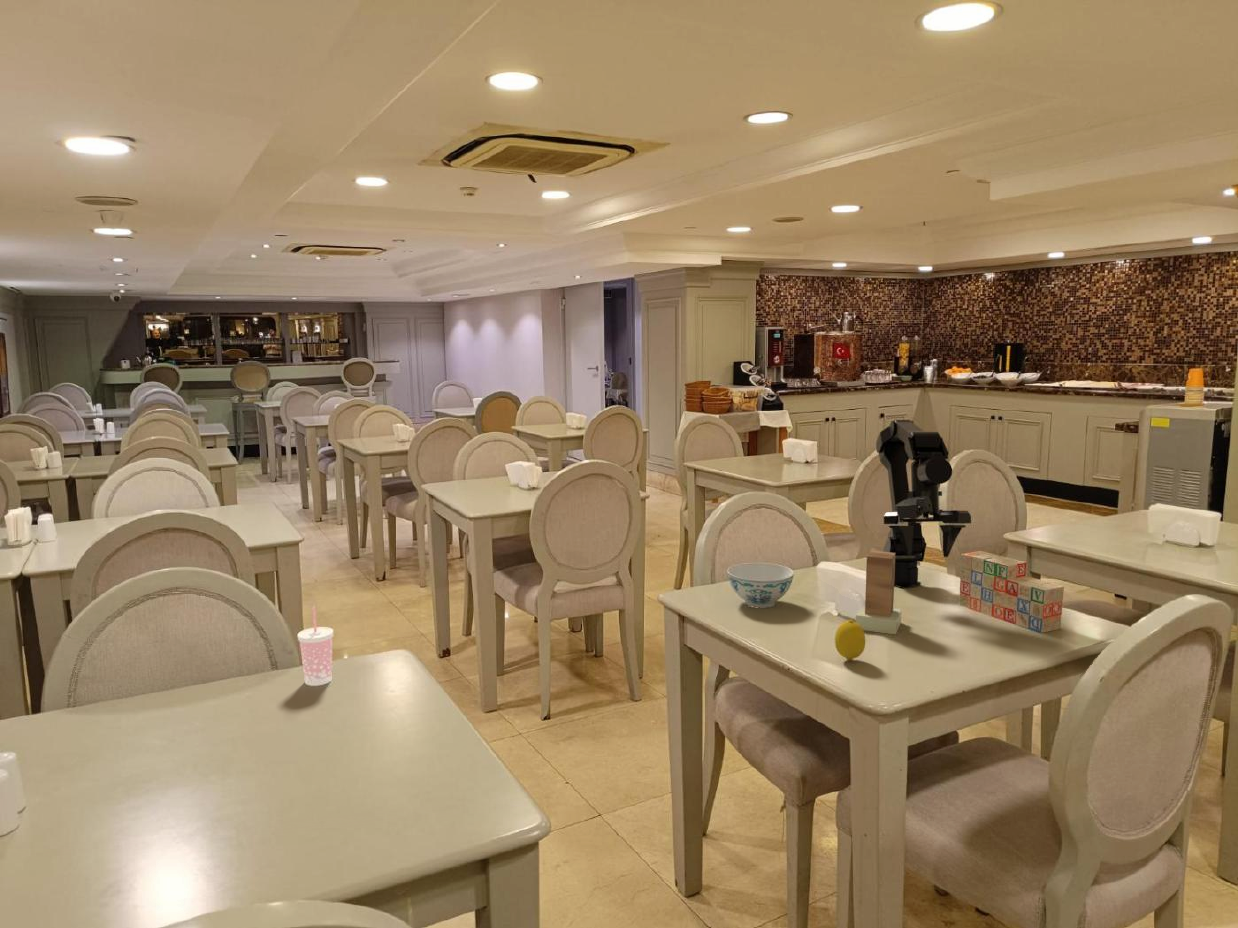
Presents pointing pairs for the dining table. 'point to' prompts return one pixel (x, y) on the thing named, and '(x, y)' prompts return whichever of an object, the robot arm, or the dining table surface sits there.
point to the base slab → (879, 622)
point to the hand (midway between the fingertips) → (927, 556)
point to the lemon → (850, 640)
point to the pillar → (880, 583)
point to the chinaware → (760, 582)
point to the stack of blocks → (1009, 592)
